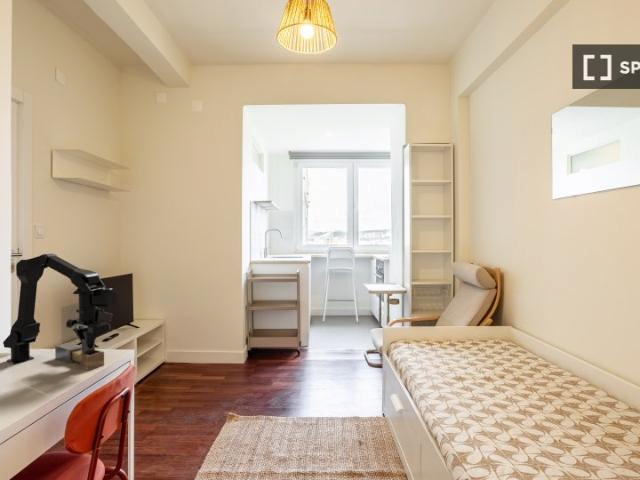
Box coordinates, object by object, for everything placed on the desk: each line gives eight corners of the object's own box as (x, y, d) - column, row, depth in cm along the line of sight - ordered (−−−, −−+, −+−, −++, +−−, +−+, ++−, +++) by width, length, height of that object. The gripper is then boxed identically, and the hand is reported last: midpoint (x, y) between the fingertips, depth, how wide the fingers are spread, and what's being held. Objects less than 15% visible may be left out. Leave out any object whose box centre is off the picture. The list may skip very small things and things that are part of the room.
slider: (66, 358, 141) (66, 334, 141) (75, 355, 144) (75, 332, 143) (88, 364, 134) (88, 340, 133) (97, 362, 136) (97, 338, 136)
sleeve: (55, 358, 143) (55, 345, 143) (69, 354, 147) (69, 342, 147) (69, 362, 138) (69, 349, 138) (83, 358, 143) (82, 346, 143)
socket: (80, 366, 134) (80, 353, 134) (95, 362, 139) (95, 349, 139) (89, 369, 131) (89, 356, 131) (104, 365, 136) (104, 351, 136)
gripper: (123, 304, 138) (124, 345, 139) (95, 300, 147) (95, 338, 148) (93, 310, 129) (94, 354, 129) (65, 305, 138) (65, 345, 138)
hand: (88, 347), depth 136 cm, fingers closed on slider, 3 cm apart
